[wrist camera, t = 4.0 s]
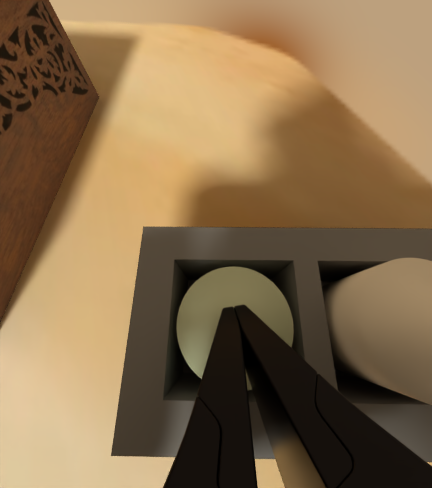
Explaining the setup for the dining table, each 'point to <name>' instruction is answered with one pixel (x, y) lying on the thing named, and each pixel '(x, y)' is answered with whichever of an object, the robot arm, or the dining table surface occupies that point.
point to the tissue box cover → (35, 126)
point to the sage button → (226, 295)
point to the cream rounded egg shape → (384, 325)
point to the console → (303, 314)
